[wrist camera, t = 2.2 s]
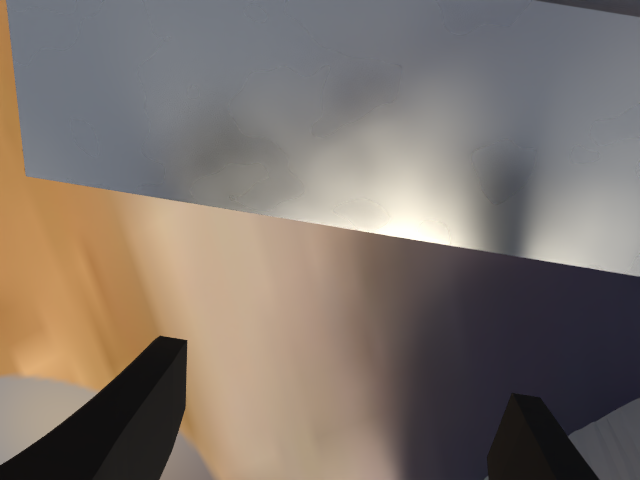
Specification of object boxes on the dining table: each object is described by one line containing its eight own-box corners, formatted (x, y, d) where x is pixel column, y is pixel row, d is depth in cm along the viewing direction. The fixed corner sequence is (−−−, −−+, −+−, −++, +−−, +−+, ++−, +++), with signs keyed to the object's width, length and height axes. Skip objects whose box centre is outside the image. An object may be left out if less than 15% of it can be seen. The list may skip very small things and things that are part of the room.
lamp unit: (698, -46, 16) (889, -10, 10) (601, 193, 20) (699, 326, 13) (99, -141, 16) (-70, -162, 10) (108, 112, 20) (-14, 209, 14)
